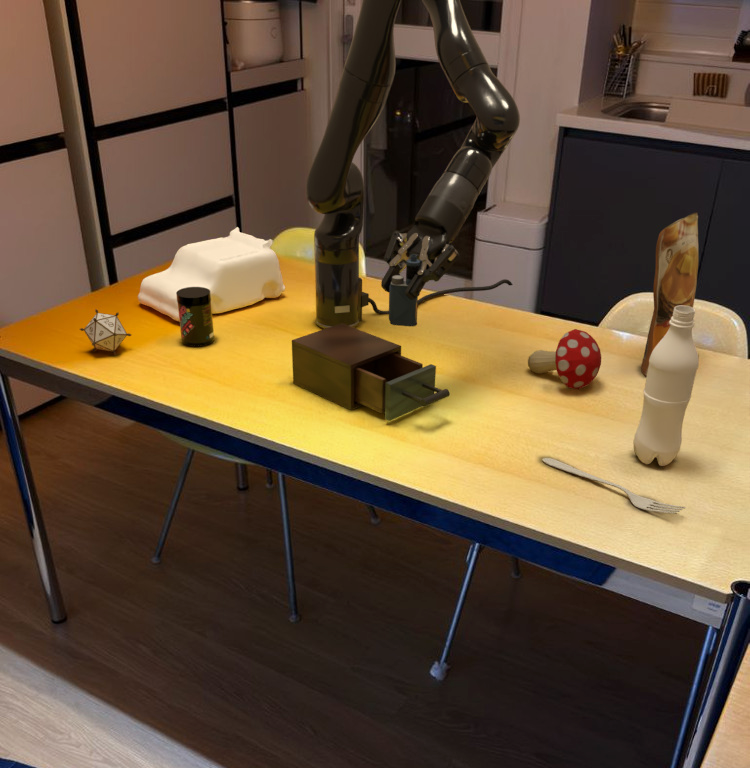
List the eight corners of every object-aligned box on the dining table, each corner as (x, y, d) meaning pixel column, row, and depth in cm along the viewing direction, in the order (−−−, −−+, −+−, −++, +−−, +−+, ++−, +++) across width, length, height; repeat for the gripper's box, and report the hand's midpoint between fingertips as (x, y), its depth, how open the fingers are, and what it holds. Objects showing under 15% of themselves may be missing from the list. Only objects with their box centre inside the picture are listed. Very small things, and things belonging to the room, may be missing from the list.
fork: (549, 455, 142) (550, 446, 141) (684, 516, 127) (687, 506, 126) (536, 462, 140) (538, 452, 139) (673, 524, 125) (675, 514, 124)
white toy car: (291, 297, 205) (289, 239, 198) (180, 328, 187) (173, 265, 180) (243, 277, 216) (239, 222, 209) (134, 304, 199) (126, 245, 192)
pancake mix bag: (621, 371, 171) (646, 225, 156) (669, 345, 182) (697, 207, 167) (652, 382, 167) (681, 233, 152) (699, 354, 178) (731, 214, 164)
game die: (120, 366, 179) (146, 327, 176) (95, 366, 171) (122, 326, 168) (90, 337, 180) (115, 298, 177) (63, 337, 172) (89, 296, 169)
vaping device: (417, 327, 151) (420, 258, 144) (387, 325, 151) (388, 256, 145) (419, 322, 153) (422, 253, 146) (390, 319, 154) (391, 251, 147)
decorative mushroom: (517, 325, 167) (584, 318, 156) (551, 344, 175) (618, 338, 163) (507, 381, 166) (573, 378, 155) (541, 398, 173) (607, 396, 162)
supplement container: (186, 334, 184) (181, 286, 179) (218, 335, 184) (213, 287, 178) (177, 346, 178) (172, 297, 173) (210, 348, 178) (206, 298, 172)
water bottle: (624, 448, 144) (652, 301, 131) (667, 447, 145) (698, 300, 131) (639, 470, 138) (670, 318, 125) (683, 468, 139) (718, 317, 125)
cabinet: (400, 389, 162) (401, 345, 158) (350, 410, 155) (350, 365, 150) (342, 364, 172) (342, 322, 167) (293, 383, 164) (291, 340, 160)
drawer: (458, 411, 153) (461, 375, 149) (414, 432, 146) (415, 395, 142) (376, 376, 165) (377, 342, 161) (331, 394, 158) (331, 359, 154)
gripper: (489, 229, 147) (438, 315, 147) (425, 213, 156) (377, 294, 155) (471, 201, 141) (417, 291, 141) (405, 186, 150) (355, 271, 149)
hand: (396, 292), depth 148 cm, fingers closed on vaping device, 5 cm apart
